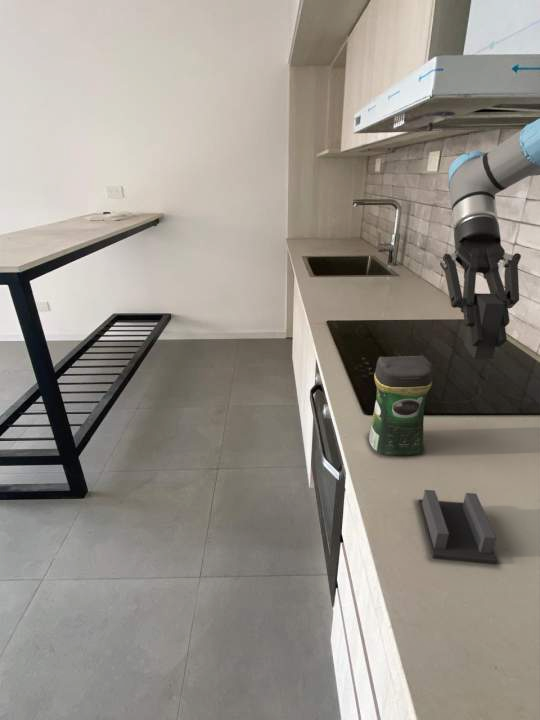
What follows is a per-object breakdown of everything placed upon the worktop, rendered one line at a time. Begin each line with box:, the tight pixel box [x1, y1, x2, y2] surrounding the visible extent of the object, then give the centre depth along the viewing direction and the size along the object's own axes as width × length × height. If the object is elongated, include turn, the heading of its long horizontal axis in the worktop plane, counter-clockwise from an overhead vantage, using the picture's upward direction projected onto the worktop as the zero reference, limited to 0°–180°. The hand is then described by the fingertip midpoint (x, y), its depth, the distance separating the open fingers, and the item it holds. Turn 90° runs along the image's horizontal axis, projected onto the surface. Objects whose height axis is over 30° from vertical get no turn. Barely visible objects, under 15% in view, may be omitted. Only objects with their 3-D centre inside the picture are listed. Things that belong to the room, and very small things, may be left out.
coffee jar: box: [368, 354, 433, 457], centre depth 72 cm, size 10×8×19 cm
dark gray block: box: [463, 292, 505, 360], centre depth 69 cm, size 3×6×10 cm, turn 172°
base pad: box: [417, 489, 497, 565], centre depth 57 cm, size 8×10×4 cm
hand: (489, 343), depth 66 cm, fingers closed on dark gray block, 3 cm apart
